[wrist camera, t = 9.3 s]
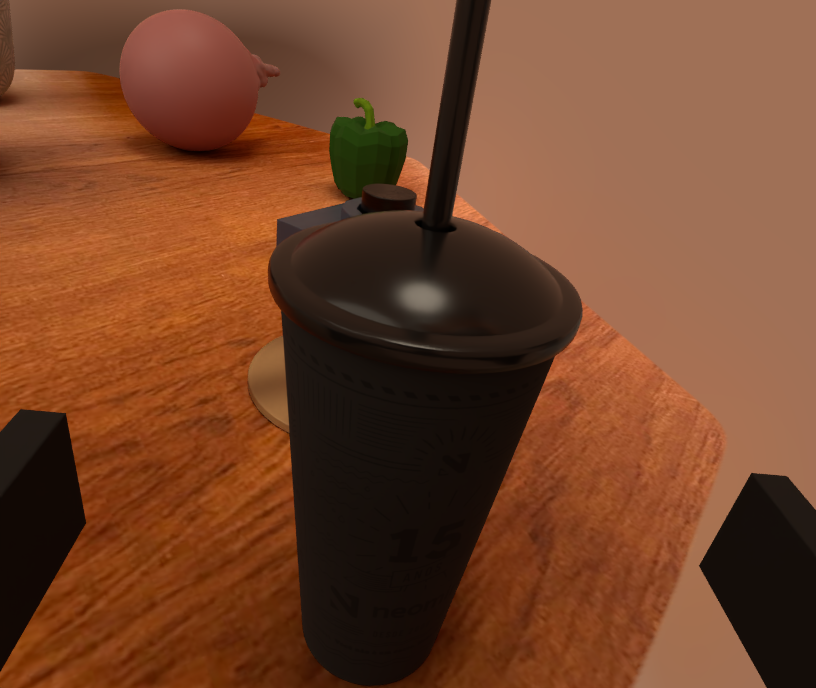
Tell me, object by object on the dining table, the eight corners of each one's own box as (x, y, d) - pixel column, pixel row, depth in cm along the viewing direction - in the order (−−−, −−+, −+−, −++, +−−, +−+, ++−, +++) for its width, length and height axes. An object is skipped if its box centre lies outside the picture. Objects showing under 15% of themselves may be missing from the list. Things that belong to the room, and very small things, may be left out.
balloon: (310, 161, 77) (318, 29, 70) (157, 169, 65) (146, 9, 57) (252, 133, 87) (253, 14, 79) (107, 135, 74) (92, -6, 66)
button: (423, 219, 49) (427, 194, 48) (392, 229, 46) (395, 203, 45) (382, 204, 51) (384, 180, 50) (349, 212, 48) (351, 187, 47)
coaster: (498, 421, 33) (500, 414, 33) (291, 475, 27) (292, 467, 27) (395, 321, 42) (396, 315, 41) (222, 345, 36) (222, 338, 35)
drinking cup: (230, 576, 22) (221, -72, 12) (404, 514, 26) (504, -15, 16) (313, 784, 17) (419, -76, 7) (517, 665, 21) (772, 11, 11)
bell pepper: (409, 208, 65) (423, 112, 60) (337, 206, 62) (345, 105, 57) (385, 185, 72) (396, 98, 67) (319, 183, 69) (325, 91, 64)
